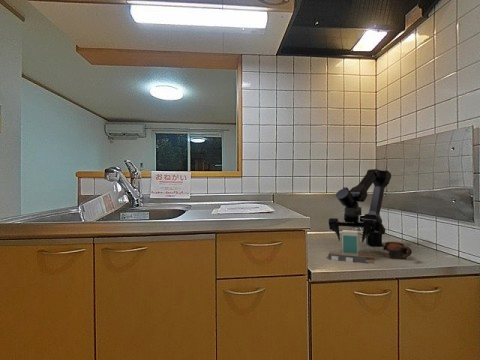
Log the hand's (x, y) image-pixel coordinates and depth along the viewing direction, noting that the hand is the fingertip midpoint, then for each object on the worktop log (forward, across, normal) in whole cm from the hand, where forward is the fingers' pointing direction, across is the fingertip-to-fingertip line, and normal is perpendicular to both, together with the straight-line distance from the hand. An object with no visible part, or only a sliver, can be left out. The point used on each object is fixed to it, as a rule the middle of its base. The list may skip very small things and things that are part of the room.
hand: (350, 241), depth 120 cm
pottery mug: (+1, +18, +10) cm, 20 cm away
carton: (+6, 0, +4) cm, 7 cm away
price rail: (+10, -1, 0) cm, 10 cm away
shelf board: (+6, 0, +5) cm, 8 cm away
